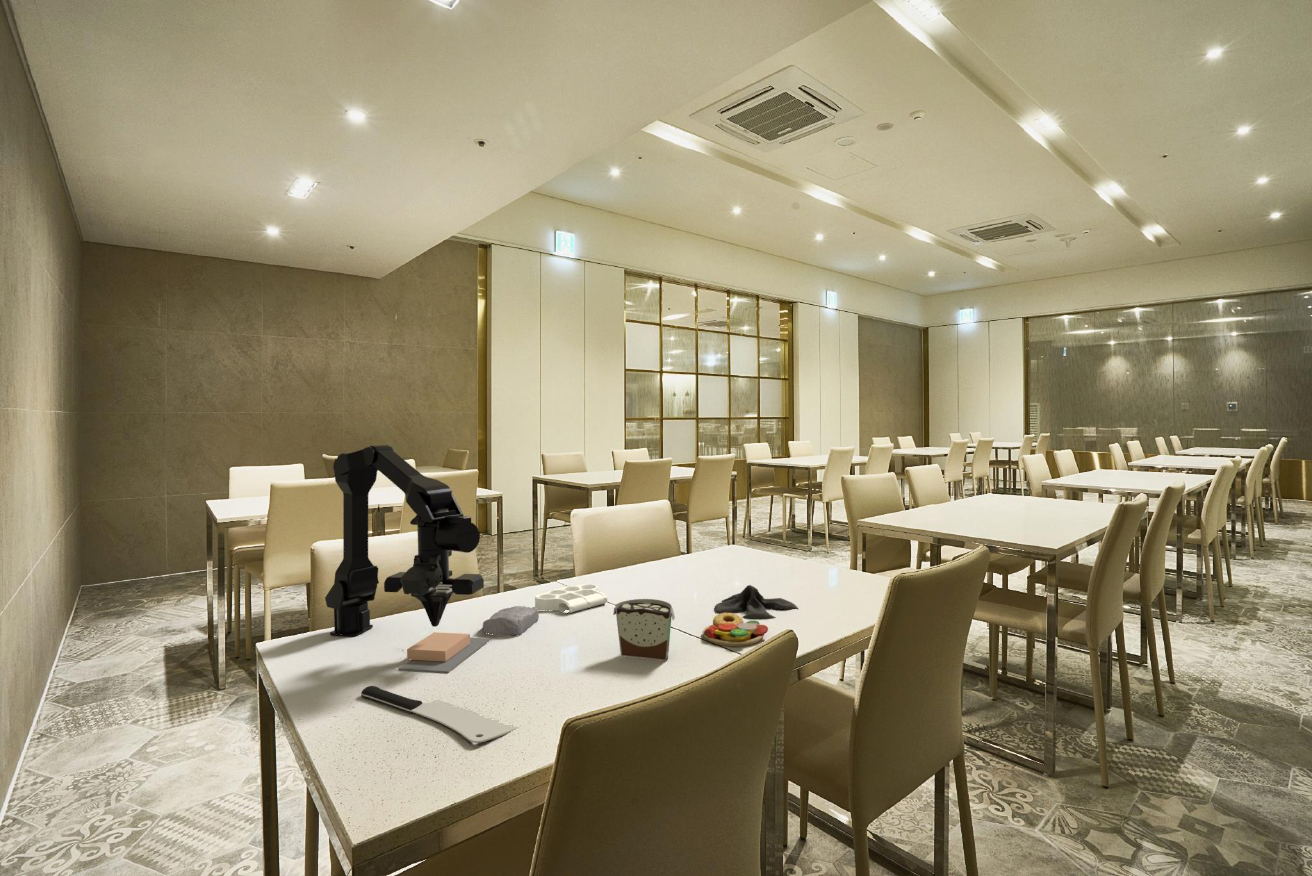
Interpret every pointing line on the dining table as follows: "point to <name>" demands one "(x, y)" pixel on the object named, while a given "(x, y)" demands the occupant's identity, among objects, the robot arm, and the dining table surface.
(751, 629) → the toy food set
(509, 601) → the dining table surface
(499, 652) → the dining table surface
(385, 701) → the kitchen cleaver
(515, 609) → the stone block
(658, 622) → the food container
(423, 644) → the tan flat block
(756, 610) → the cloth
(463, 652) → the mat
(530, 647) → the dining table surface
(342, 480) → the robot arm
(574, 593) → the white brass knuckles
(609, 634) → the dining table surface
